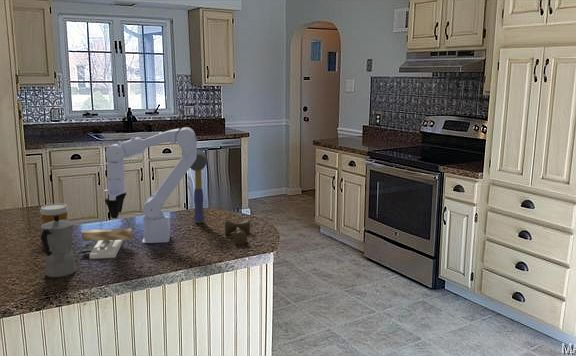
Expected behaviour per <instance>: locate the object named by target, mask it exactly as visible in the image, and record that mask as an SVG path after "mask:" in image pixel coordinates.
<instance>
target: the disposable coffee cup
mask: <svg viewBox="0 0 576 356" xmlns="http://www.w3.org/2000/svg"><path fill="white" fill-rule="evenodd" d="M68 211H69V208H68V205H67V204H65V203H51V204H44V205H42V206H41V207H40V210H39V213H40V215H41V218H42V222H43V223H42V224H45V223H48V222H51V221H55V220H54V217H53V216H54V215H59V220H68Z"/></svg>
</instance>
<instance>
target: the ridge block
mask: <svg viewBox="0 0 576 356" xmlns="http://www.w3.org/2000/svg"><path fill="white" fill-rule="evenodd" d="M123 242H124V240H102V241H97V244H96V243H95V247H94V248H93V250H92V251H90V253H89V259H90V260H91V259H115V258H116V257H117V254H119V253H118V252H119V251H120V250H121V247H122V245H123Z"/></svg>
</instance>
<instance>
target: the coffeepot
mask: <svg viewBox="0 0 576 356" xmlns="http://www.w3.org/2000/svg"><path fill="white" fill-rule="evenodd" d="M53 217H54V220H55V221H51V222H48V223H45V224H44V223H41V225H40V231H41V235H40V241H41V243H42V245H43V249H44V252H45V255H46V259H45V260H46V261H45V269H44V270H45V271H44V275H45V276H47V277H49V278H62V277H65V276H70V275H72V274H75V272H76V271H77V265H76V261H75V257H74V253H73V249H72V243H73V227H74V221H71V220H70V219H67V220H59V215H54V216H53Z"/></svg>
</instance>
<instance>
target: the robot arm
mask: <svg viewBox="0 0 576 356" xmlns="http://www.w3.org/2000/svg"><path fill="white" fill-rule="evenodd" d="M165 143H170V144H174V145H175V144H176V143H177V144H178V146H179V148H180V150H181V155H182V157H181V158H180V159H179V161H178V162H177V163H176V164H175V166H174V167H173V169H171V171H170V173H169V174H168V175H167V176H166V178H165V180H164V181H163V182H162V183H161V185H160V186H159V188H158V189H156V191H155V192H154V193H153V195H151V196H149V197H147V199H146V201H145V204H143V207H142V213H143V215H142V217H143V219H142V220H143V221H142V222H143V239H142V240H141V243H142V244H155V243H157V244H158V243H159V244H160V243H169V242H170V239H171V235H172V234H171V233H172V232H171V221H170V220H171V219H170V216H169V215H164V214H165V213H163V212H162V209H163V206H164V205H165V203H166V201H167V200H168V198H169V197H170V196H171V194H172V193H173V191H174V190H175V189H176V187H178V185H179V183H180V182H181V181H182V179H183V178H184V177H185V175H186V174H187V173H188V171H189V170H190V169H191V168H190V167H191V166H192V164H193V163H194V162H195V160H196V157H197V150H198V149H197V148H198V138H197V136H196V133H195V130H194V129H193V128H191V127H188V126H183V127H181V128H174V129H169V130H166V131H164V132H160V133H158V134H155V135H152V136H150V137H146V138H142V137H139V136H138V137H136V136H132V137H130V139H128V140H124V141H118V142H117V143H114V144H112V145H110V146H108V147H107V148H106V151H105V158H106V161H107V162H106V163H107V165H106V174H107V175H106V181H107V183H106V184H107V188H106V189H104V190H103V193H106V194H108V197H105V199H104V202H105V204H106V206H107V207H108V212H109V216H110V219H118V216H119V213H122V210H123V204H124V201H125V198H126V195H127V191H126V189H125V164H124V161H125V160H124V158H127V159H128V158H131V157H133V156H134V157H135V156H137V155H140V154H143V153H144V152H145V151H146V149H147V148H150V147H154V146H157V145H161V144H165Z"/></svg>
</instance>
